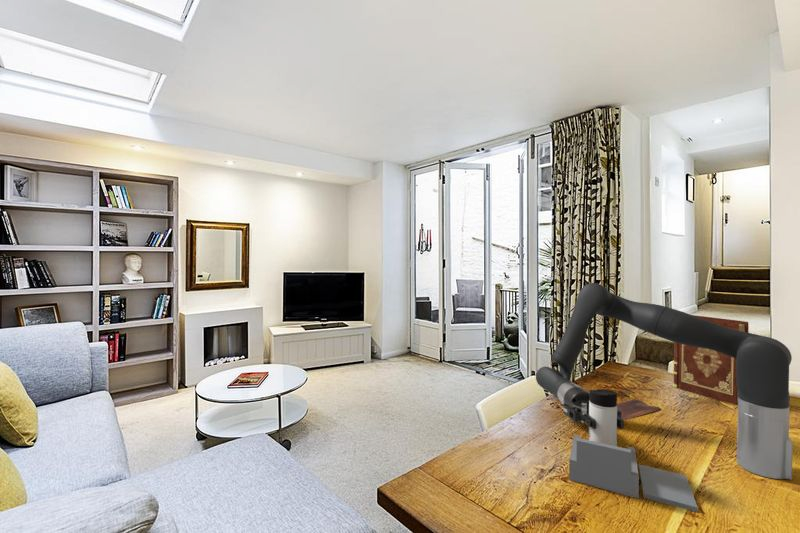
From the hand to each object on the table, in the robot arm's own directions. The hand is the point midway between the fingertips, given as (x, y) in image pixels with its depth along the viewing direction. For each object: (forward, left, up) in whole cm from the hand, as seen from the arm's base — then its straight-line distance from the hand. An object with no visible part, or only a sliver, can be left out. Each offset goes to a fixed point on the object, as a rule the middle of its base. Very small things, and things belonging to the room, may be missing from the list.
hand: (608, 425), depth 90 cm
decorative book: (-34, -80, -12) cm, 88 cm away
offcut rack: (+1, +1, -12) cm, 12 cm away
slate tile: (-12, 0, -12) cm, 17 cm away
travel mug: (+1, -2, -12) cm, 12 cm away
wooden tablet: (-5, -45, -13) cm, 47 cm away
